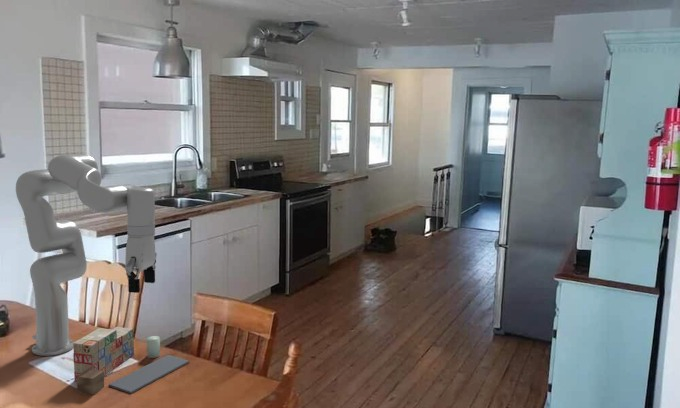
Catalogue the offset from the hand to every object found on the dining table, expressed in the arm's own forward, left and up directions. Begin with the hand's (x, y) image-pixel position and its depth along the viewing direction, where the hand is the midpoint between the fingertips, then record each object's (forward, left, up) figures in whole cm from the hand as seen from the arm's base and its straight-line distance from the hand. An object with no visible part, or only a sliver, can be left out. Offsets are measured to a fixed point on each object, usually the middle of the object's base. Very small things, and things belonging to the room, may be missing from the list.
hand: (142, 287), depth 161 cm
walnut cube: (-7, -13, -28) cm, 32 cm away
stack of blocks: (-15, -1, -29) cm, 33 cm away
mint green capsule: (-9, +13, -28) cm, 33 cm away
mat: (0, +3, -28) cm, 29 cm away
